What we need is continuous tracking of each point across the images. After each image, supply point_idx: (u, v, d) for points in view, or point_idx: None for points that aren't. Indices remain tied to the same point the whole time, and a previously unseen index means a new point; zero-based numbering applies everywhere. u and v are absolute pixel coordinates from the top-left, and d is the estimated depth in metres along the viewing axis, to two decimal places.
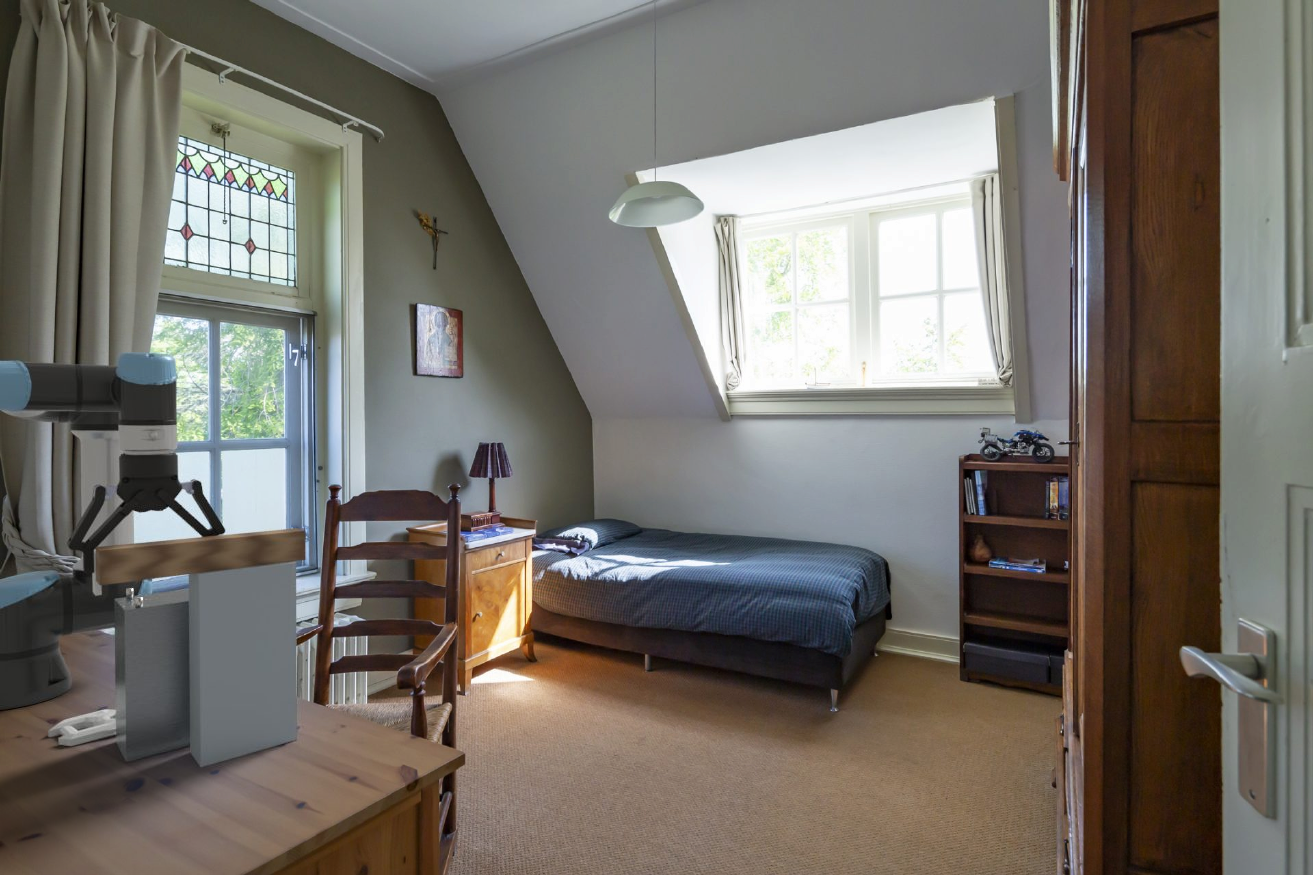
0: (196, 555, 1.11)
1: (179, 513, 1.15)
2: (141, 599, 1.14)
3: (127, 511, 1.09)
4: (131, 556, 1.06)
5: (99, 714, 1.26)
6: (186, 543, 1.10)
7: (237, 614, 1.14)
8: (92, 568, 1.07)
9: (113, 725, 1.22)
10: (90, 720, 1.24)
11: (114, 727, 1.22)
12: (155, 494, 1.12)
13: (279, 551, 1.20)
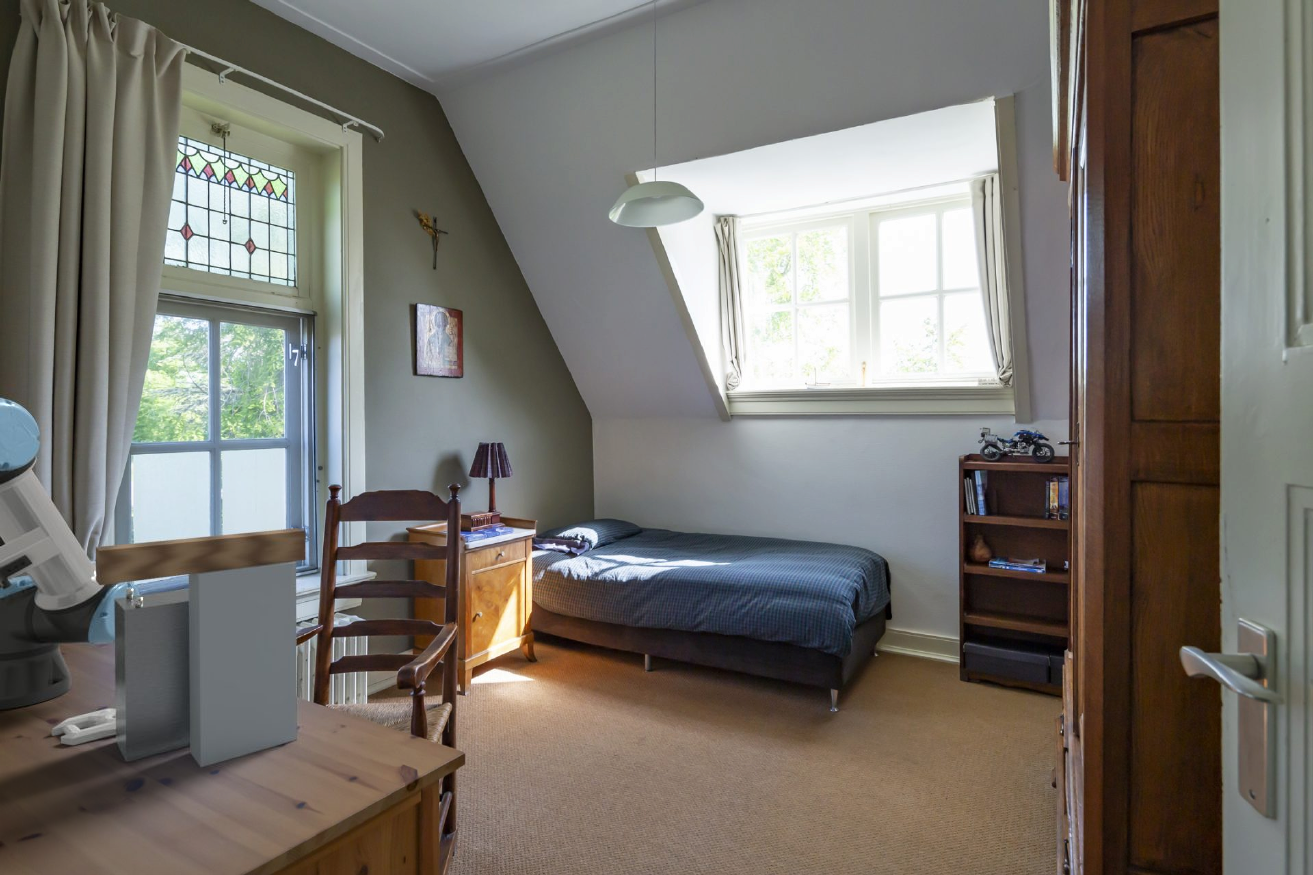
0: (196, 555, 1.11)
1: None
2: (141, 599, 1.14)
3: None
4: (131, 556, 1.06)
5: (102, 713, 1.26)
6: (186, 543, 1.10)
7: (237, 614, 1.14)
8: (18, 552, 1.11)
9: (115, 724, 1.22)
10: (93, 719, 1.25)
11: None
12: None
13: (279, 551, 1.20)
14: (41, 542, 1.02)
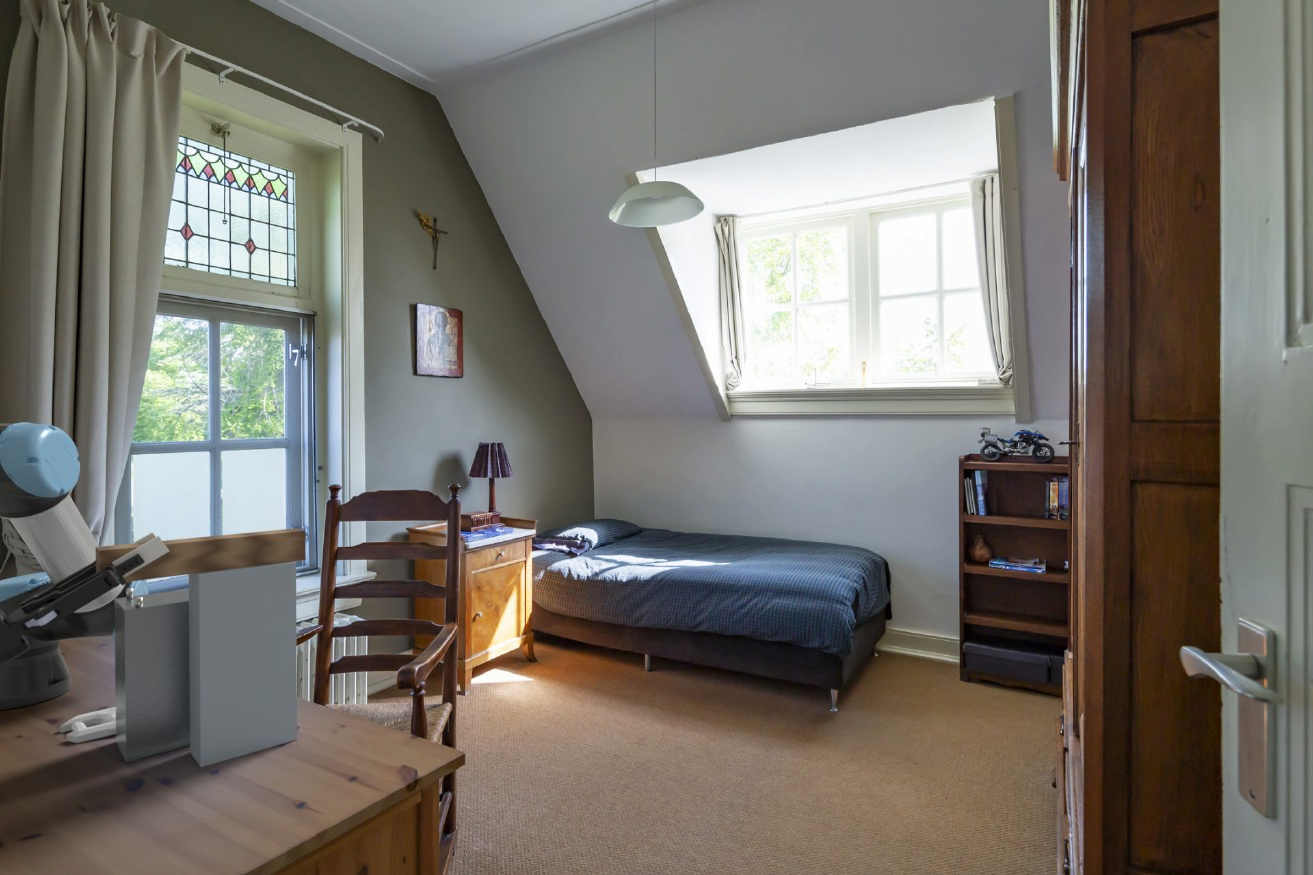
0: (196, 555, 1.11)
1: None
2: (141, 599, 1.14)
3: None
4: None
5: (110, 711, 1.27)
6: (186, 543, 1.10)
7: (237, 614, 1.14)
8: None
9: None
10: (101, 717, 1.26)
11: None
12: None
13: (279, 551, 1.20)
14: (151, 541, 1.07)
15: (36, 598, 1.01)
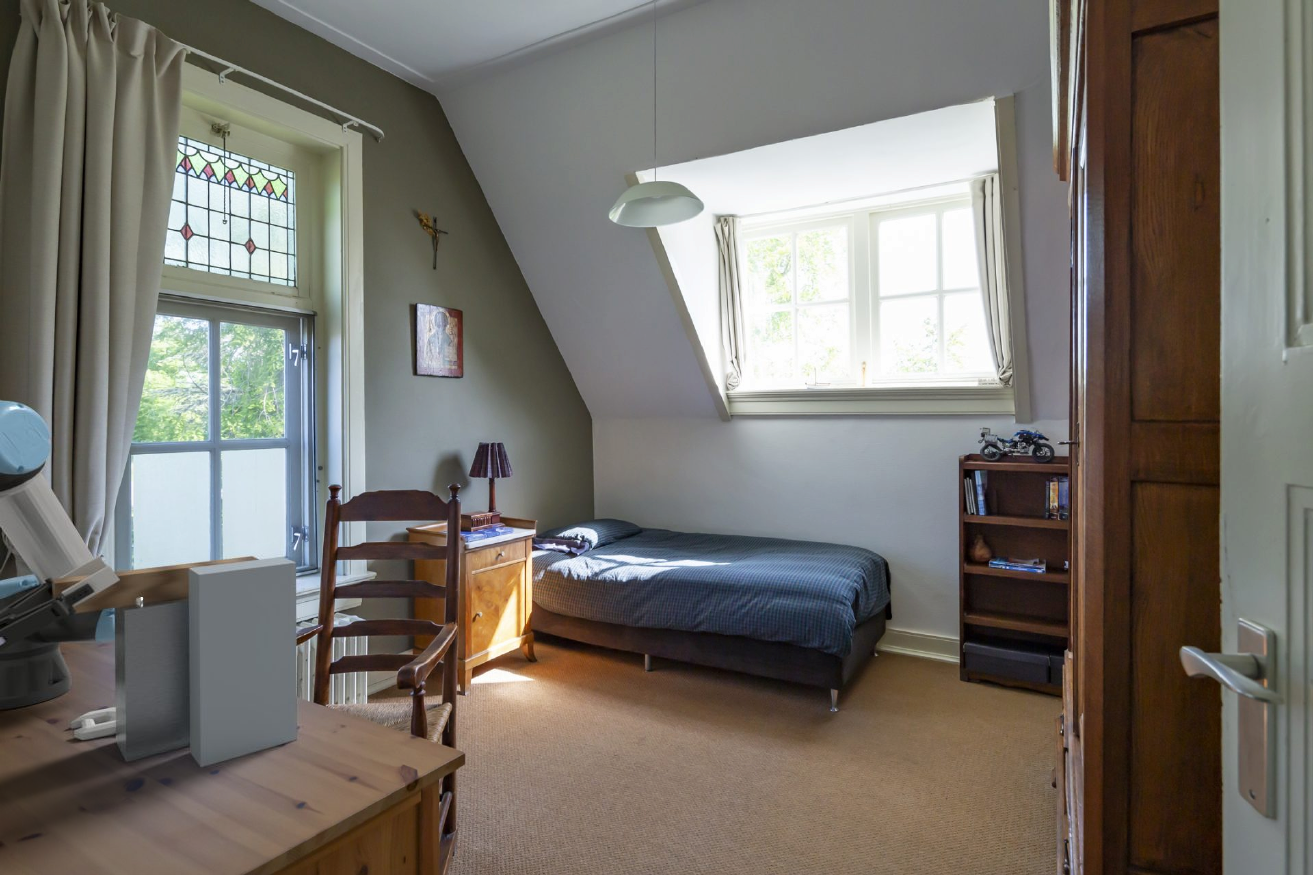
0: (150, 585, 1.17)
1: None
2: (141, 599, 1.14)
3: None
4: None
5: None
6: (140, 574, 1.16)
7: (237, 614, 1.14)
8: None
9: None
10: (110, 715, 1.27)
11: None
12: None
13: None
14: (102, 571, 1.10)
15: None
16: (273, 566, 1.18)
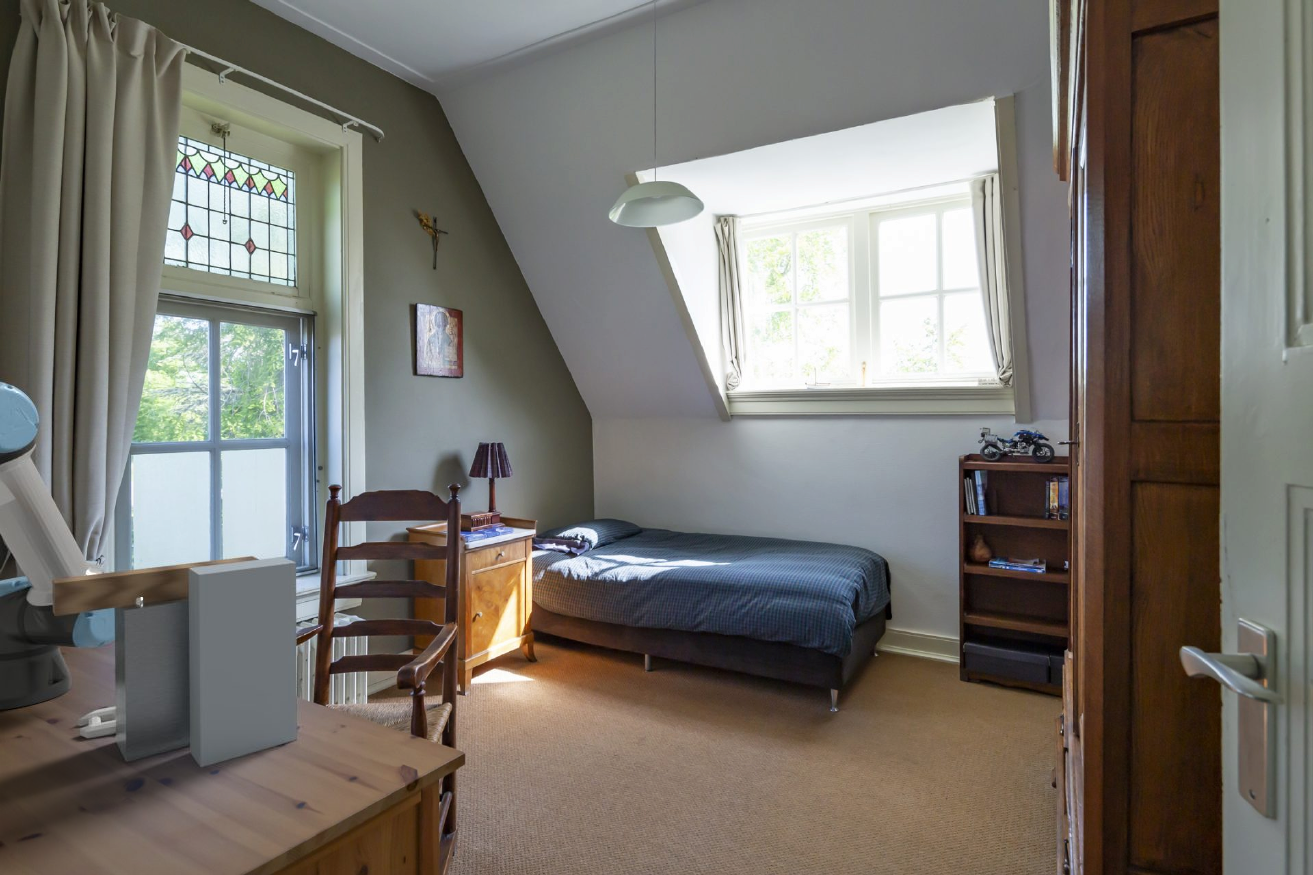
0: (150, 585, 1.17)
1: None
2: (141, 599, 1.14)
3: None
4: (86, 588, 1.11)
5: None
6: (140, 574, 1.16)
7: (237, 614, 1.14)
8: None
9: None
10: None
11: None
12: None
13: None
14: None
15: None
16: (273, 566, 1.18)
